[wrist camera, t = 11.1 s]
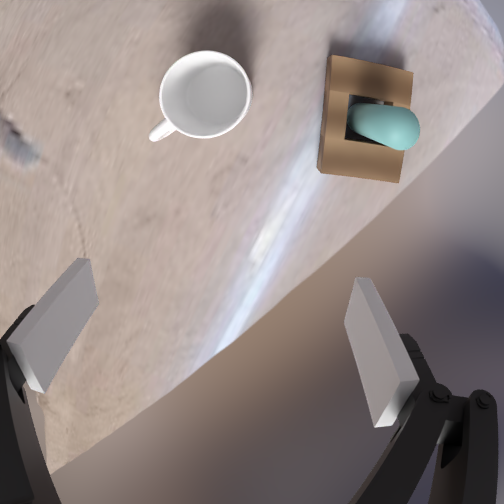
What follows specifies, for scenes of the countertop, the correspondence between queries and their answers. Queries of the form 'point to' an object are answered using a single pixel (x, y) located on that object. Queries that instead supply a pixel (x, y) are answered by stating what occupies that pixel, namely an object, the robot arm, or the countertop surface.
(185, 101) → the cup
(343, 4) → the countertop surface
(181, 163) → the countertop surface
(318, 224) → the countertop surface
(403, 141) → the peg
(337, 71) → the socket
